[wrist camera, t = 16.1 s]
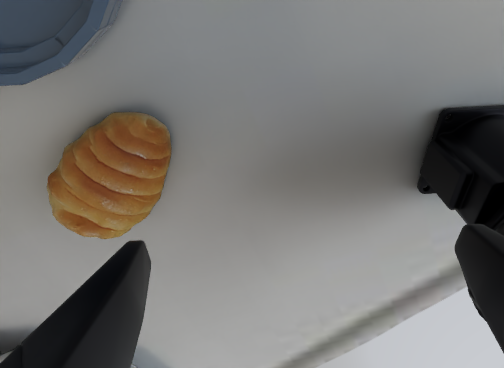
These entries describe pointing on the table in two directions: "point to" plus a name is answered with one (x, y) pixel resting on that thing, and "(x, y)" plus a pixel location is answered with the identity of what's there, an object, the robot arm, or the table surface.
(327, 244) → the table surface
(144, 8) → the table surface
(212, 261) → the table surface
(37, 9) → the glazed bowl
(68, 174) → the pastry
